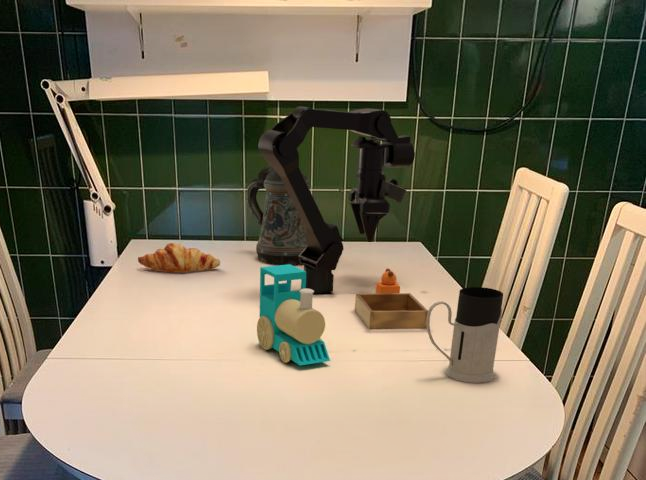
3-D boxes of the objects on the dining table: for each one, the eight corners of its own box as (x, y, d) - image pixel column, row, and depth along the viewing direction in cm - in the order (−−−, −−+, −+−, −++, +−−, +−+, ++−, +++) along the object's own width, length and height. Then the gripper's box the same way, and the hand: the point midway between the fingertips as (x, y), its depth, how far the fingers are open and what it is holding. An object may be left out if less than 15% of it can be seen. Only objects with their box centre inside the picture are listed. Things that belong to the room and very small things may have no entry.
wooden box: (368, 331, 170) (370, 312, 168) (354, 312, 183) (355, 293, 181) (426, 331, 172) (428, 311, 170) (408, 311, 184) (410, 293, 183)
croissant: (219, 279, 219) (219, 249, 219) (221, 269, 209) (221, 238, 209) (138, 278, 216) (138, 248, 216) (137, 268, 206) (136, 236, 206)
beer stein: (316, 267, 220) (320, 168, 208) (243, 264, 220) (244, 165, 208) (314, 253, 235) (318, 160, 223) (246, 251, 235) (247, 158, 223)
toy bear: (379, 305, 188) (381, 272, 185) (374, 300, 192) (377, 267, 188) (398, 305, 189) (401, 272, 185) (393, 300, 193) (396, 267, 189)
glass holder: (503, 380, 147) (516, 297, 140) (431, 386, 143) (441, 302, 136) (479, 364, 154) (491, 284, 147) (410, 370, 150) (418, 288, 143)
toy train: (295, 371, 148) (298, 288, 141) (255, 344, 161) (256, 267, 154) (333, 365, 152) (338, 284, 145) (291, 339, 164) (293, 263, 157)
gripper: (414, 174, 182) (408, 246, 189) (395, 164, 198) (390, 230, 206) (365, 173, 181) (360, 246, 188) (350, 163, 197) (346, 230, 204)
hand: (365, 237), depth 197 cm, fingers open, 9 cm apart
